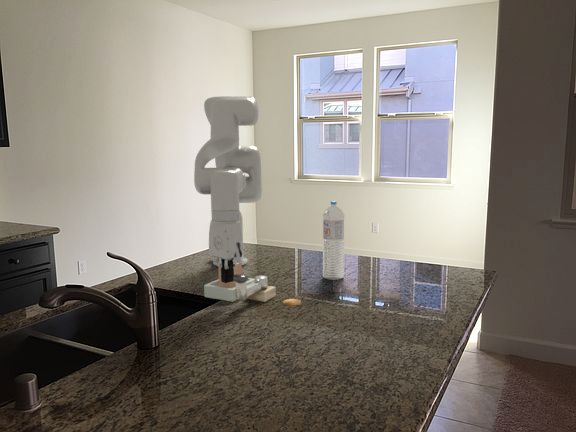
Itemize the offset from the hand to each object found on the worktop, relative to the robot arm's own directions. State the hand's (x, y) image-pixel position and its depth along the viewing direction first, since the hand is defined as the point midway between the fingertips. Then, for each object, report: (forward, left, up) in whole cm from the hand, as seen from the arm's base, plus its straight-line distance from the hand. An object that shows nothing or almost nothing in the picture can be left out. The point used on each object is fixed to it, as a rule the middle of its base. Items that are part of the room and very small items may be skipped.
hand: (227, 281), depth 135 cm
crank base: (+10, +8, -6) cm, 15 cm away
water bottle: (+16, +36, -6) cm, 40 cm away
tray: (-4, +7, -6) cm, 11 cm away
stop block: (-4, +7, -5) cm, 10 cm away
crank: (+6, +3, -3) cm, 7 cm away
